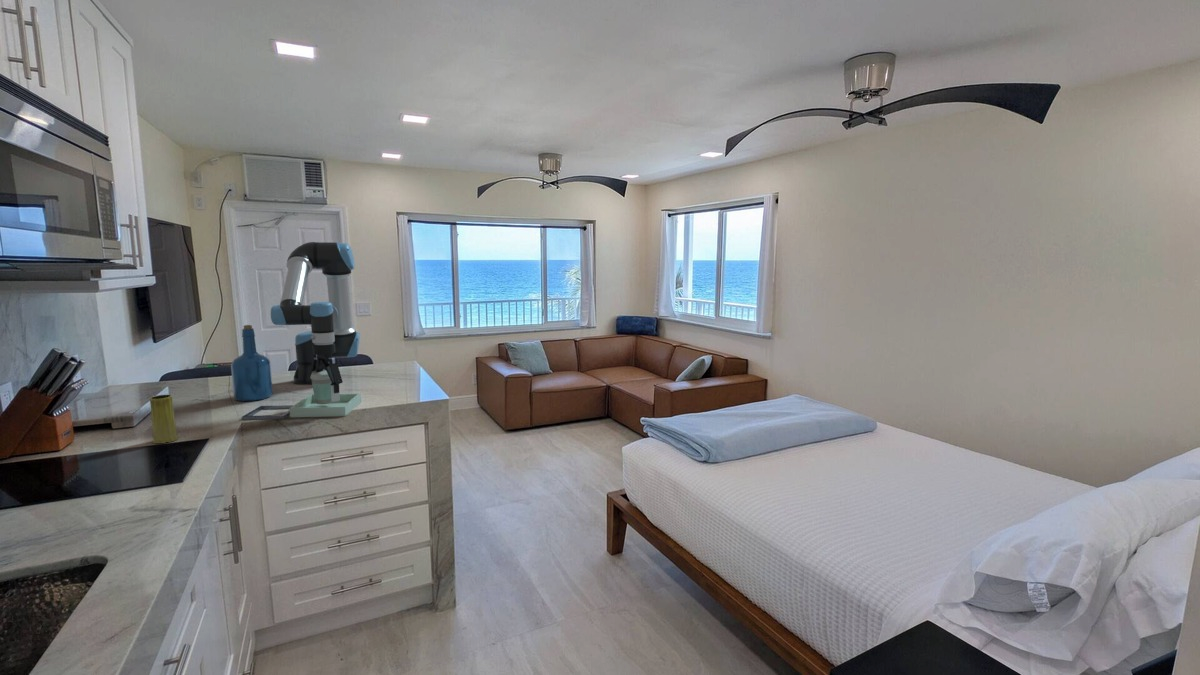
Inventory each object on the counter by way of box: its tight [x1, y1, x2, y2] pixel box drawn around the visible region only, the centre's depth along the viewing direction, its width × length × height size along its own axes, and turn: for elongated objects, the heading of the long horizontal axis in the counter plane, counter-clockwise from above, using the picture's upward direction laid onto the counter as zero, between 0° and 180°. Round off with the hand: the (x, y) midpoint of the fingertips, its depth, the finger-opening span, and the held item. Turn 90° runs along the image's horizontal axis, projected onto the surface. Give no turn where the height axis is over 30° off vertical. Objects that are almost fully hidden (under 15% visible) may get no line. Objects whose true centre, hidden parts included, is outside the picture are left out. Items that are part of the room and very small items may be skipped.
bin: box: [289, 392, 362, 418], centre depth 197 cm, size 19×19×4 cm
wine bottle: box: [230, 324, 274, 402], centre depth 208 cm, size 14×13×30 cm
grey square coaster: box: [241, 404, 294, 421], centre depth 191 cm, size 14×14×1 cm
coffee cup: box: [310, 370, 332, 404], centre depth 197 cm, size 8×8×12 cm
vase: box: [149, 394, 179, 444], centre depth 160 cm, size 6×6×14 cm
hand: (327, 397), depth 197 cm, fingers open, 13 cm apart
